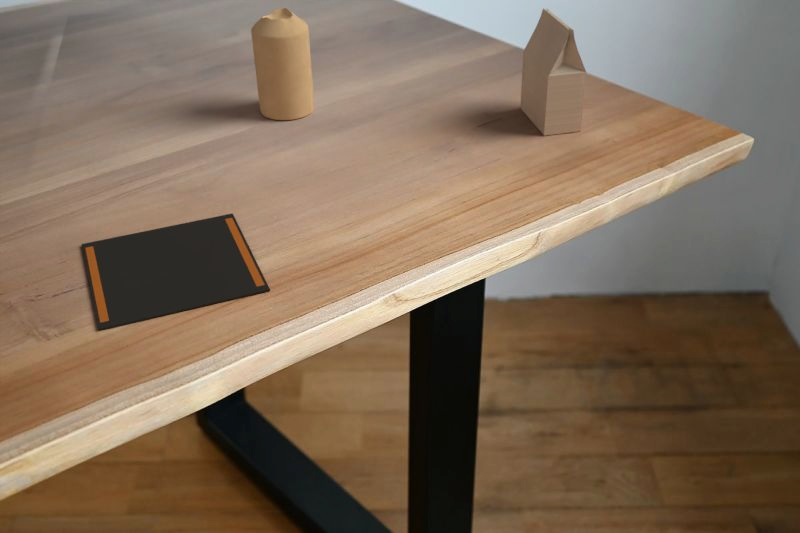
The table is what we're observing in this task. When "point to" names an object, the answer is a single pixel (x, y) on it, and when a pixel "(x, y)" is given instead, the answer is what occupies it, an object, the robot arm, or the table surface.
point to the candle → (283, 65)
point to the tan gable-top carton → (553, 78)
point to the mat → (170, 270)
